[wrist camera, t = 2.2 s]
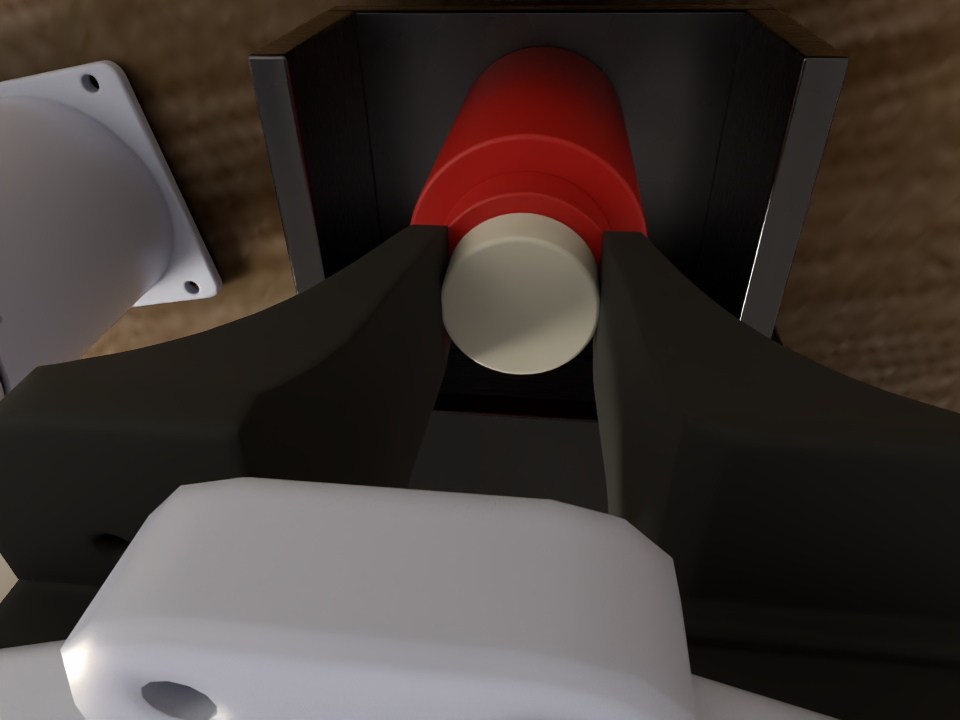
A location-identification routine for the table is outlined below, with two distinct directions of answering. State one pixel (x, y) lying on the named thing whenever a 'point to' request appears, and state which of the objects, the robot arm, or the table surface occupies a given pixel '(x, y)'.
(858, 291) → the table surface
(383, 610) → the robot arm
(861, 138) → the table surface
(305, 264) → the drawer
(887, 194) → the table surface
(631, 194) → the sauce bottle
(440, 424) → the cabinet
